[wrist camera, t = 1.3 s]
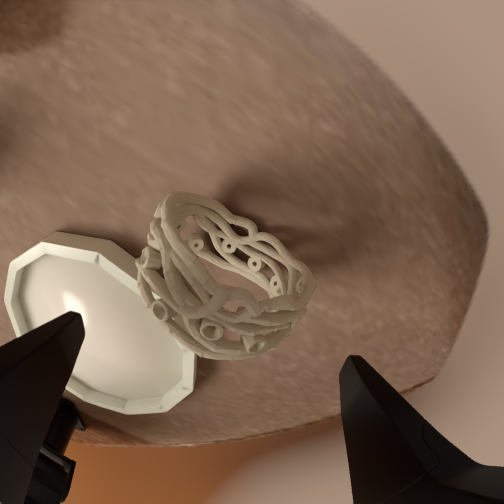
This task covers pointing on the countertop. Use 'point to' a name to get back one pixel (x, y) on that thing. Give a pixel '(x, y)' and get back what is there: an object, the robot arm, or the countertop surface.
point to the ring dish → (102, 323)
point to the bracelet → (209, 290)
